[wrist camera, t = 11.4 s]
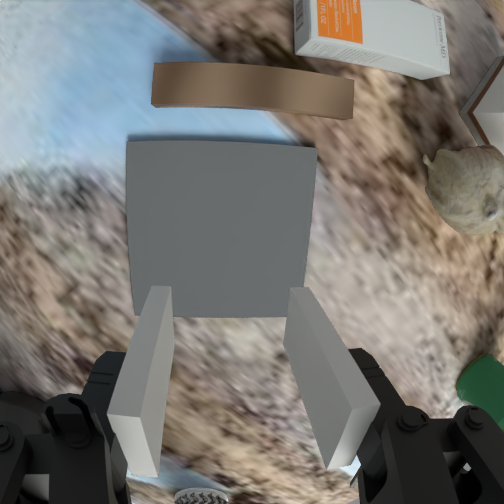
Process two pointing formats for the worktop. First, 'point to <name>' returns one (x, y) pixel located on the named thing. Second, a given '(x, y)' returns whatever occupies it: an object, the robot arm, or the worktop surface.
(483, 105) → the white tall block
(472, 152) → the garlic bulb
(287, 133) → the worktop surface
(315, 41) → the skincare box
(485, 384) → the beverage can
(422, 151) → the worktop surface
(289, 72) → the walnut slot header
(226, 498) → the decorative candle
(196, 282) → the charcoal mat
